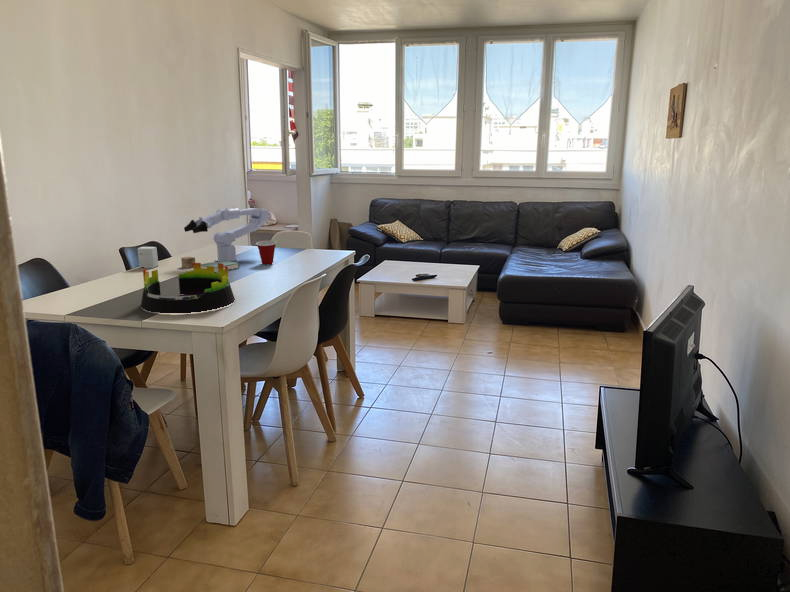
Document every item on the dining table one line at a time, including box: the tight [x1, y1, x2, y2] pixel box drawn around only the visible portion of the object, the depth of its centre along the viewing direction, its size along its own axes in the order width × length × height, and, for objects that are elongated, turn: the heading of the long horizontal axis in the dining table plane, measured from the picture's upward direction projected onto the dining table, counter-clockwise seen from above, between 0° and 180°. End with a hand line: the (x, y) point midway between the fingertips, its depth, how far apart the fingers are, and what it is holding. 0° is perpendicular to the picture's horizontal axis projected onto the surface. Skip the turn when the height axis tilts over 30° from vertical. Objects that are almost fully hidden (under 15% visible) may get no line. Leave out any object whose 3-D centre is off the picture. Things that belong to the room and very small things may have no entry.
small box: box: [137, 246, 159, 269], centre depth 322 cm, size 8×6×10 cm
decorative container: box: [140, 262, 236, 313], centre depth 249 cm, size 37×37×15 cm
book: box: [201, 260, 240, 273], centre depth 320 cm, size 16×12×3 cm
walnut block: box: [180, 256, 196, 269], centre depth 325 cm, size 5×5×5 cm
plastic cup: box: [255, 240, 277, 265], centre depth 333 cm, size 11×11×12 cm
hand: (189, 230), depth 321 cm, fingers open, 7 cm apart
